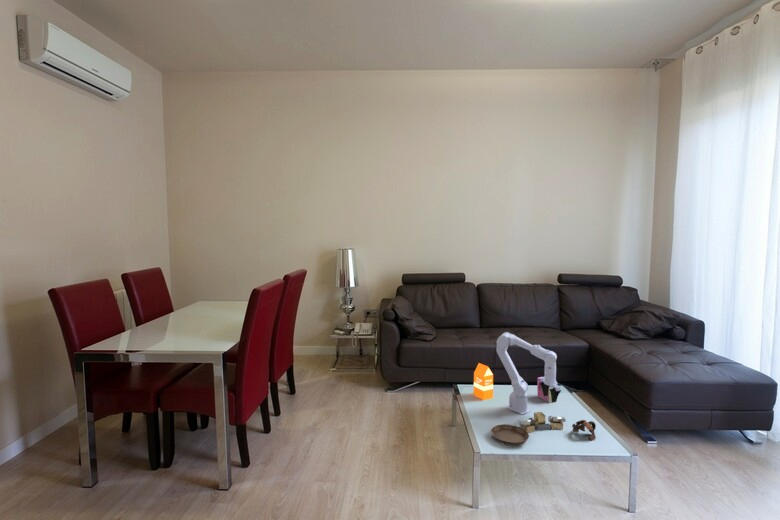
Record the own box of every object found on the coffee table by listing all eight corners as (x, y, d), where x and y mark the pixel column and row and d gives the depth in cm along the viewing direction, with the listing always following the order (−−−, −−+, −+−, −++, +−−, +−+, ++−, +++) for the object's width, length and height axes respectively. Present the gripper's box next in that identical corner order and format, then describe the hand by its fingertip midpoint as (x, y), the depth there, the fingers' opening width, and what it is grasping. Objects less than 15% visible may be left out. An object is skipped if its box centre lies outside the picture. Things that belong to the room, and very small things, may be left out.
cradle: (537, 430, 194) (537, 425, 193) (530, 423, 201) (530, 418, 200) (549, 429, 195) (549, 424, 195) (541, 422, 202) (541, 417, 202)
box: (536, 396, 235) (537, 377, 235) (544, 395, 237) (545, 376, 237) (548, 403, 226) (549, 383, 225) (556, 401, 227) (557, 382, 227)
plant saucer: (489, 428, 196) (489, 422, 196) (525, 431, 194) (525, 425, 193) (492, 447, 179) (492, 440, 179) (532, 450, 176) (532, 443, 176)
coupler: (536, 427, 195) (536, 416, 195) (532, 424, 199) (532, 412, 199) (546, 426, 196) (546, 415, 196) (542, 422, 200) (542, 411, 200)
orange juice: (483, 400, 229) (483, 368, 228) (473, 395, 237) (473, 363, 236) (493, 398, 233) (493, 365, 232) (483, 393, 241) (483, 361, 240)
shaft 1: (529, 426, 198) (529, 415, 197) (536, 430, 194) (536, 419, 193) (518, 430, 194) (518, 419, 194) (524, 433, 190) (524, 422, 190)
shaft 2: (550, 428, 195) (550, 418, 195) (547, 424, 199) (547, 414, 199) (566, 429, 195) (566, 418, 194) (562, 425, 199) (563, 414, 199)
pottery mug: (589, 444, 181) (580, 427, 183) (575, 443, 189) (566, 427, 192) (605, 431, 187) (595, 415, 189) (590, 432, 195) (581, 416, 197)
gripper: (565, 378, 201) (564, 403, 201) (548, 369, 215) (548, 393, 216) (553, 379, 199) (552, 405, 200) (537, 370, 214) (537, 394, 214)
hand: (549, 398), depth 208 cm, fingers open, 7 cm apart
